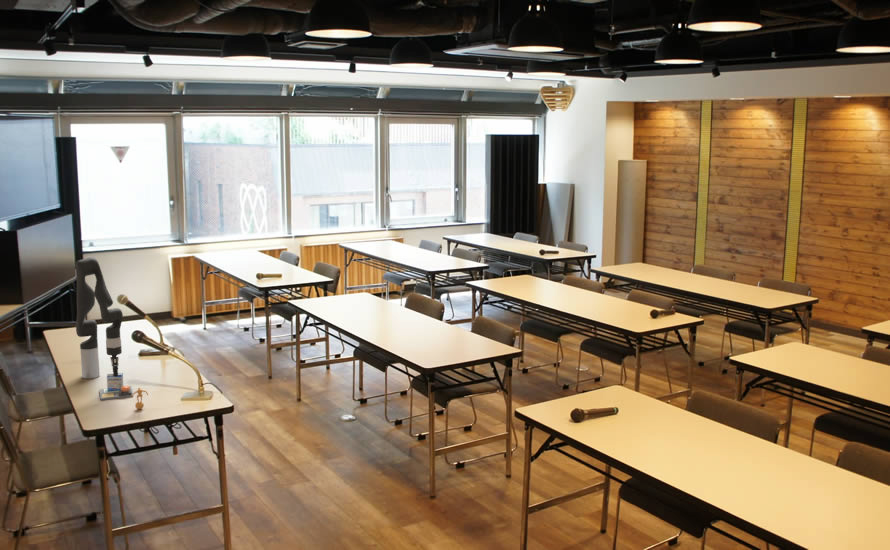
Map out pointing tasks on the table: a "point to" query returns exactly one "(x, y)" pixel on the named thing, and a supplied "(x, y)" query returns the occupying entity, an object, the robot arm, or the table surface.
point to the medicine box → (114, 382)
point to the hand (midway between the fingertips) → (115, 374)
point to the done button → (125, 388)
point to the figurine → (139, 404)
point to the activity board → (114, 394)
